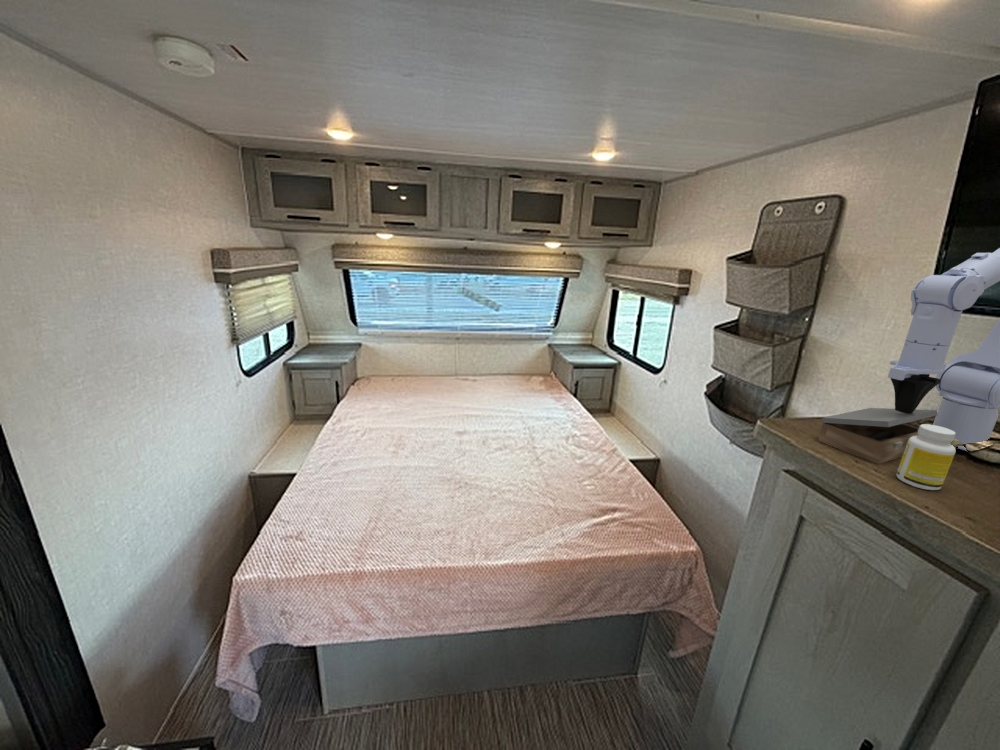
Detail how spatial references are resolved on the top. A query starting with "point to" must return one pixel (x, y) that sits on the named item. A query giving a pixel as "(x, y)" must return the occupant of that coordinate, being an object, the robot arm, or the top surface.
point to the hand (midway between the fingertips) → (903, 411)
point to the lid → (878, 417)
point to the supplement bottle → (927, 457)
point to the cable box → (869, 440)
